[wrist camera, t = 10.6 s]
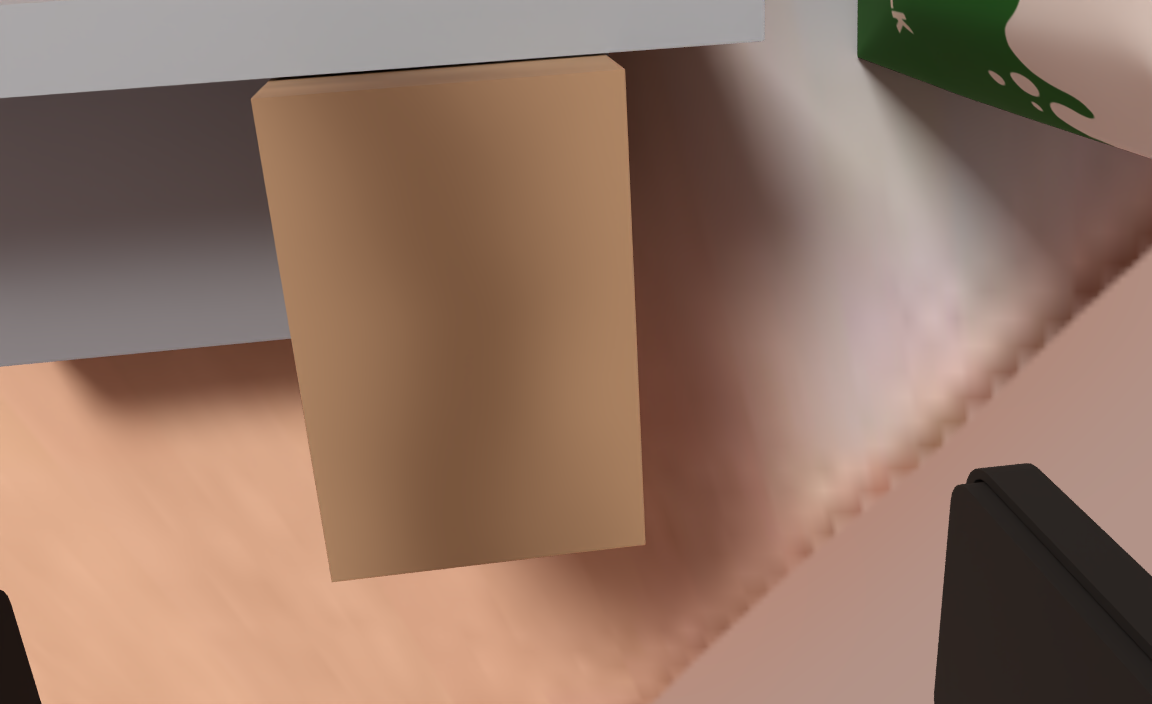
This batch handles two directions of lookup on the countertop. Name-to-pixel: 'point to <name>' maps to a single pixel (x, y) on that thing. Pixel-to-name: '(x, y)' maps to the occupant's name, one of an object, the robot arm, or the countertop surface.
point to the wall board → (218, 144)
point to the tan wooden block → (460, 307)
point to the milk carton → (1027, 58)
